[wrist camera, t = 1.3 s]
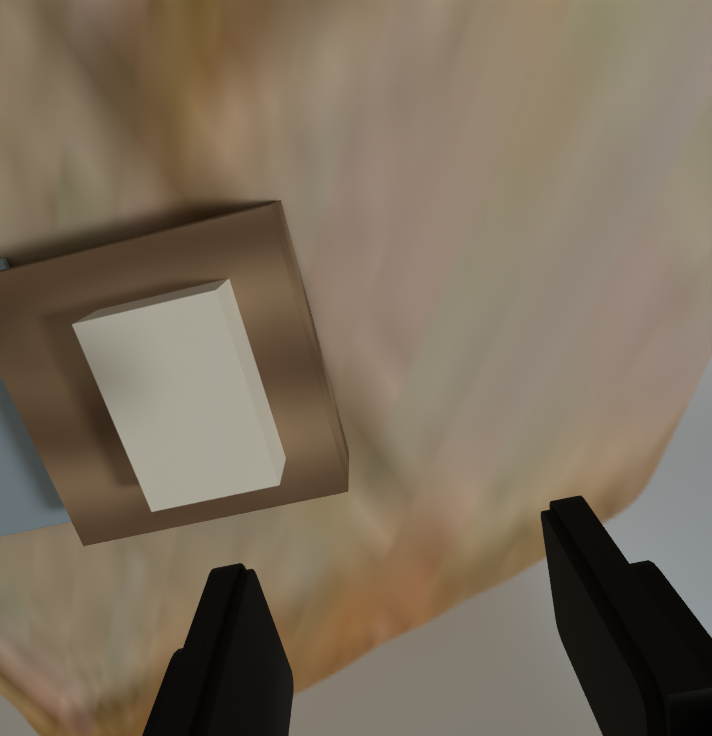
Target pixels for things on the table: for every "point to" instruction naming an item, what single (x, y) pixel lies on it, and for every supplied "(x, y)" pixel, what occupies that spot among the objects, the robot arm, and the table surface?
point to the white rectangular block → (184, 394)
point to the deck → (143, 280)
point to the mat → (23, 474)
